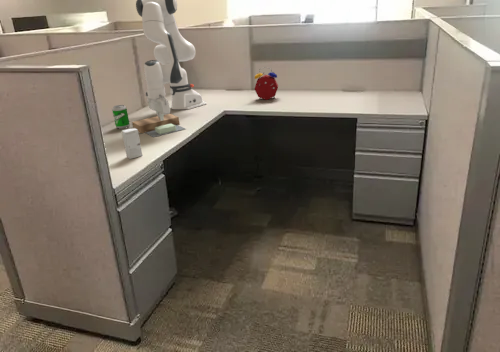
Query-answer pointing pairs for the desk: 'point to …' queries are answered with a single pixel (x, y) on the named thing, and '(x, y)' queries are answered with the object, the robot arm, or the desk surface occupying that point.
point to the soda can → (120, 116)
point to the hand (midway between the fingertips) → (161, 120)
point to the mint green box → (165, 128)
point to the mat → (155, 134)
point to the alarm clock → (266, 85)
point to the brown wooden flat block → (154, 123)
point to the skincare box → (132, 143)
